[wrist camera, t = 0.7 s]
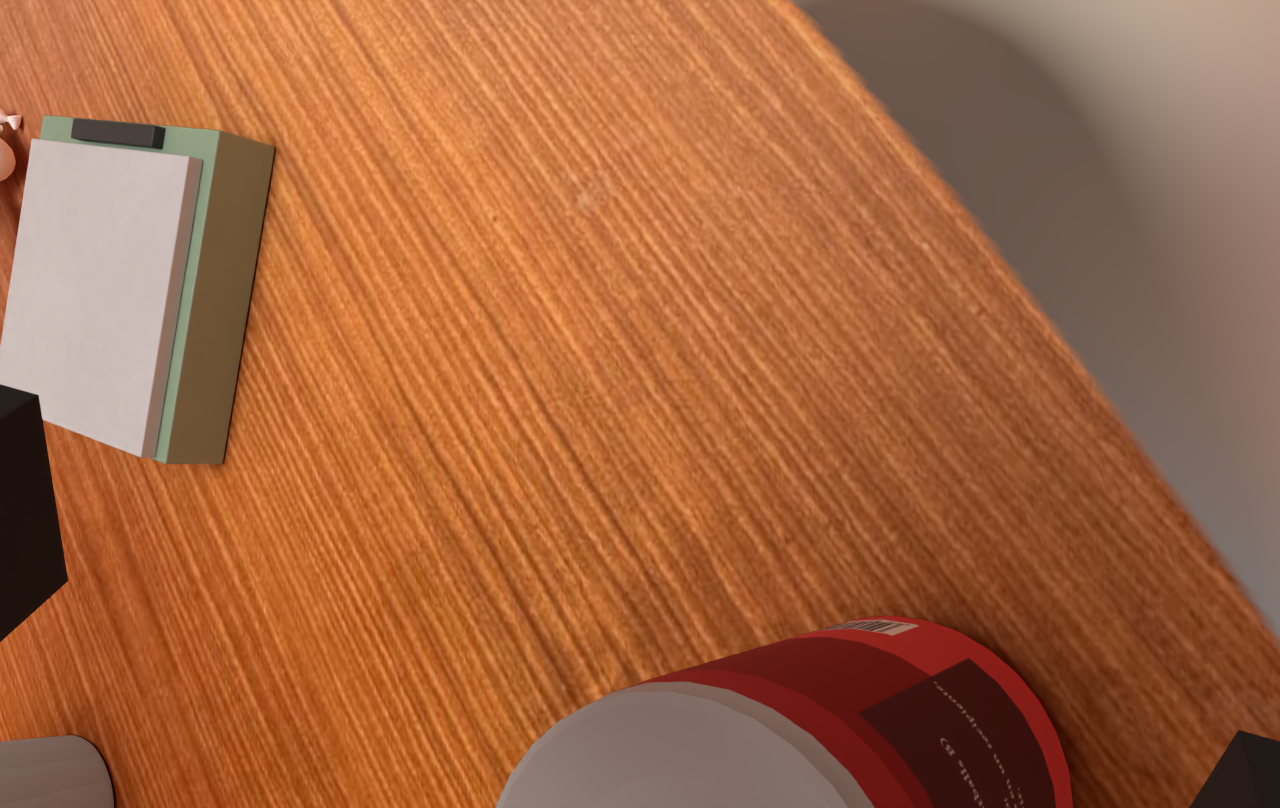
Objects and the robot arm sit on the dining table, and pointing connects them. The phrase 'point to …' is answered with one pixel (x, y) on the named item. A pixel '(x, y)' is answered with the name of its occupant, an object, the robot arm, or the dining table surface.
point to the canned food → (810, 731)
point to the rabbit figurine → (3, 159)
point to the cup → (53, 774)
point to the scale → (135, 282)
